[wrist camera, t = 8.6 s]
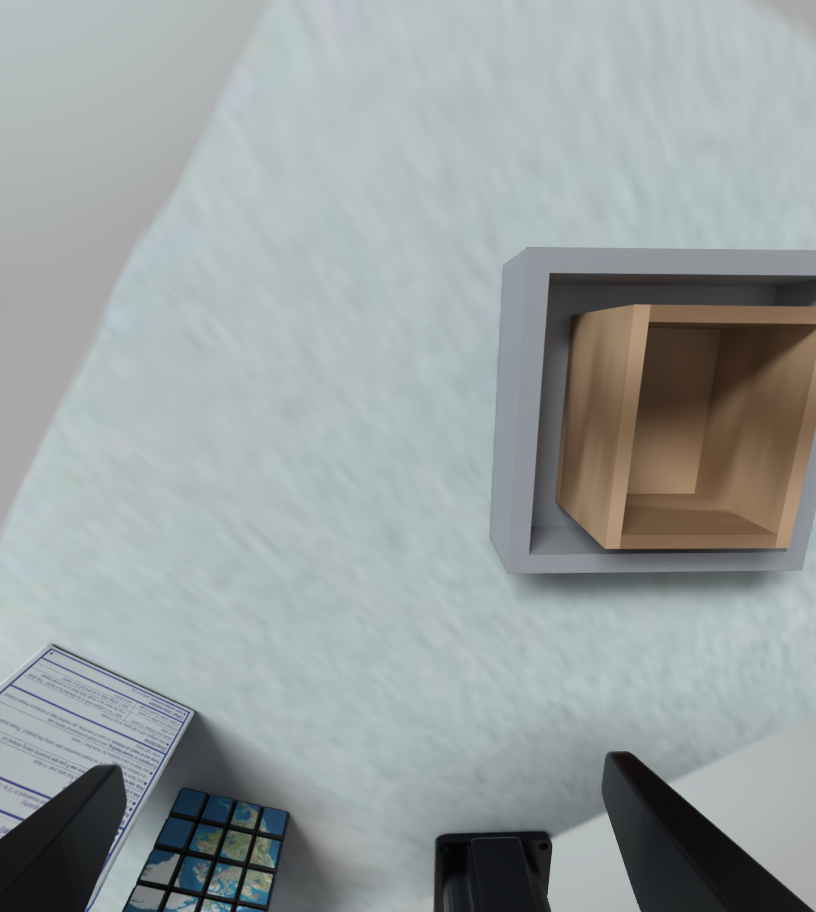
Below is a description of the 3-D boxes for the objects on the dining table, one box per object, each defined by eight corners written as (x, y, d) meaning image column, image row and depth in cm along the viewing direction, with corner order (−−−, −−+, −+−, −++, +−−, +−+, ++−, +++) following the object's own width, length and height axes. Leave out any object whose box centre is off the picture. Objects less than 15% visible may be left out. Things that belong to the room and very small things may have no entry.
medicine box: (15, 703, 23) (-206, 912, 14) (50, 636, 22) (-162, 817, 14) (160, 768, 24) (35, 996, 16) (199, 707, 23) (88, 912, 15)
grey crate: (737, 535, 22) (801, 570, 18) (489, 537, 21) (507, 573, 18) (788, 267, 19) (874, 251, 16) (503, 264, 19) (527, 246, 15)
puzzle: (159, 867, 26) (90, 1019, 20) (181, 785, 24) (115, 923, 19) (263, 889, 26) (226, 1043, 20) (290, 810, 25) (260, 951, 19)
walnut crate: (696, 500, 21) (789, 548, 16) (554, 500, 20) (604, 548, 16) (726, 316, 19) (842, 307, 14) (571, 315, 19) (634, 304, 14)
